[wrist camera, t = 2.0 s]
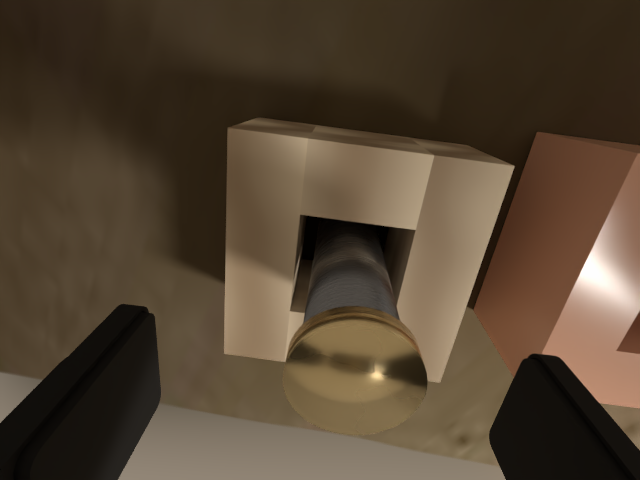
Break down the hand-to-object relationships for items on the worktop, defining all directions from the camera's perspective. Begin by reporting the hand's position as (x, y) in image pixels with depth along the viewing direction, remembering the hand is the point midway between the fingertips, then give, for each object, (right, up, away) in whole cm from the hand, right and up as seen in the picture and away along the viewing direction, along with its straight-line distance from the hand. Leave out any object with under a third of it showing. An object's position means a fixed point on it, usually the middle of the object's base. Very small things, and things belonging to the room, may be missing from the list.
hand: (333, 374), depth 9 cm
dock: (+14, +3, +9) cm, 17 cm away
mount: (+1, +4, +10) cm, 11 cm away
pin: (+1, +4, +10) cm, 11 cm away
